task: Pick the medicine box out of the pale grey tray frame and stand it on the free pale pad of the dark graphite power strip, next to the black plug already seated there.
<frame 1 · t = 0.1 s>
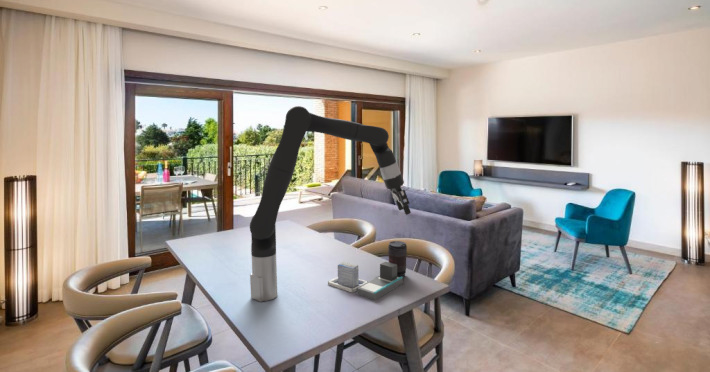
hand: (404, 211, 150), 31 cm above the table, tool tilted 20°, fingers open, 8 cm apart
tray frame: (348, 284, 154), on the table
medicine box: (348, 285, 154), resting in tray frame
camera lens: (397, 276, 164), on the table
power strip: (380, 288, 150), on the table
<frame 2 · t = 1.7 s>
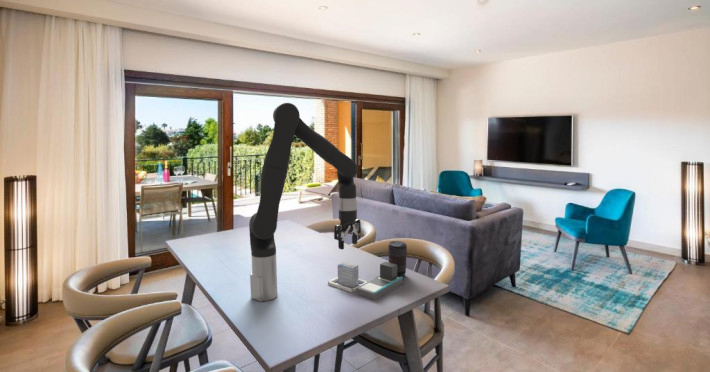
hand: (348, 246, 152), 17 cm above the table, tool pointing down, fingers open, 8 cm apart
nothing on the table moved.
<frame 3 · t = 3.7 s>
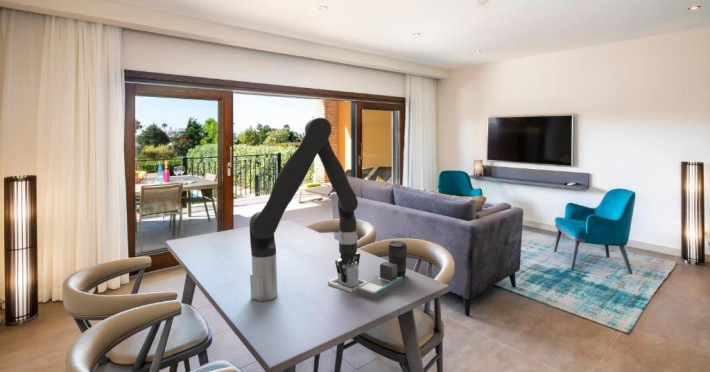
hand: (348, 280, 154), 2 cm above the table, tool pointing down, fingers closed on medicine box, 4 cm apart
medicine box: (348, 284, 154), resting in tray frame, touching gripper
everything else where it was.
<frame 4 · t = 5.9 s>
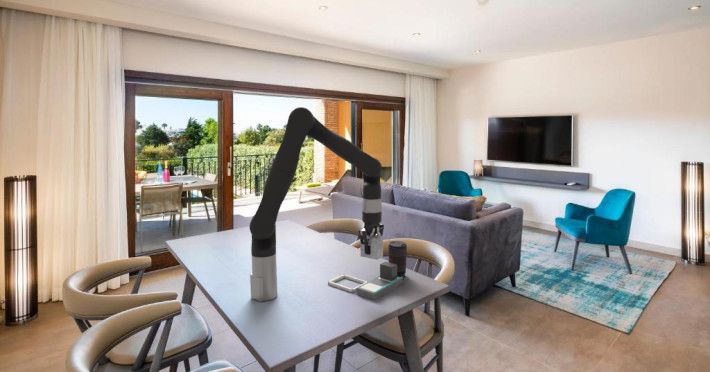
hand: (371, 252, 143), 17 cm above the table, tool pointing down, fingers closed on medicine box, 4 cm apart
medicine box: (371, 257, 143), point 15 cm above the table, touching gripper
everything else where it was.
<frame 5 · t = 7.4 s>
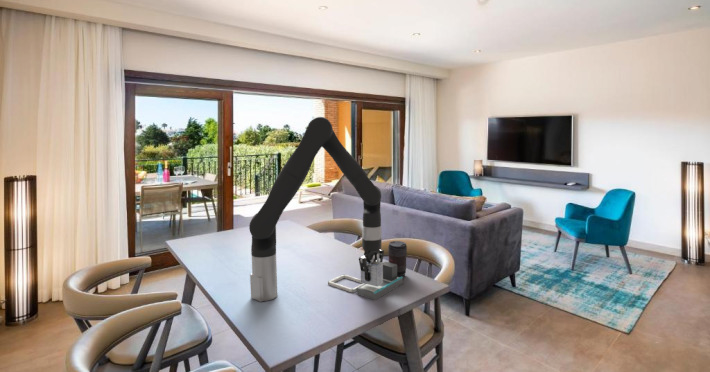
hand: (371, 278, 144), 6 cm above the table, tool pointing down, fingers closed on medicine box, 4 cm apart
medicine box: (371, 283, 145), point 4 cm above the table, touching gripper
everything else where it was.
when the fingers open (5 cm above the table, at t = 8.3 s): medicine box stays where it is, resting on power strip.
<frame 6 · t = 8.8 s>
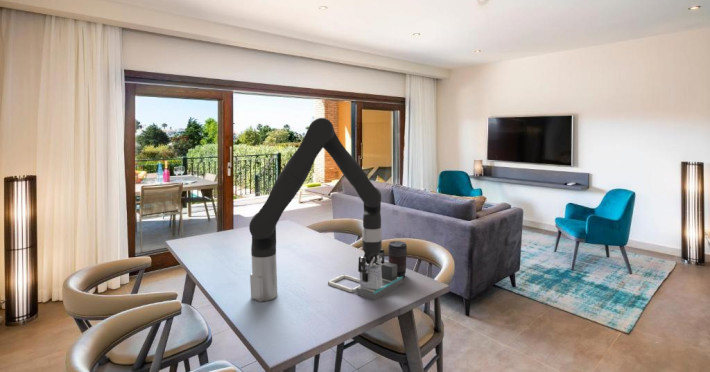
hand: (371, 278, 144), 6 cm above the table, tool pointing down, fingers open, 8 cm apart
medicine box: (371, 287, 145), point 3 cm above the table, touching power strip
everything else where it was.
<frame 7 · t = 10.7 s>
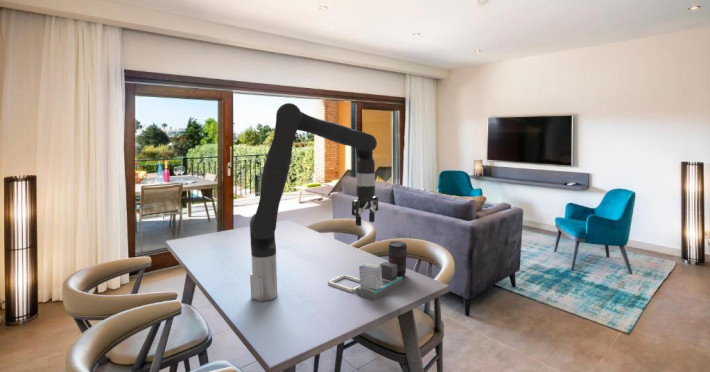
hand: (365, 223, 148), 27 cm above the table, tool pointing down, fingers open, 8 cm apart
nothing on the table moved.
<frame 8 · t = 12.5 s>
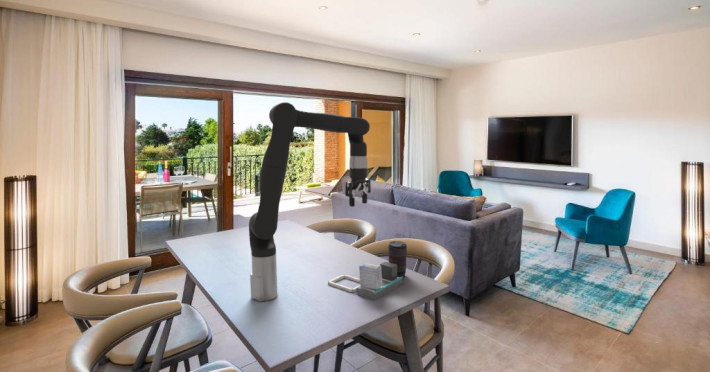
hand: (358, 204, 155), 33 cm above the table, tool pointing down, fingers open, 8 cm apart
nothing on the table moved.
at the end: medicine box inside the target area (0.2 cm from its centre), point 2.6 cm above the table; medicine box tilted 4°; the gripper is holding nothing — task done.
